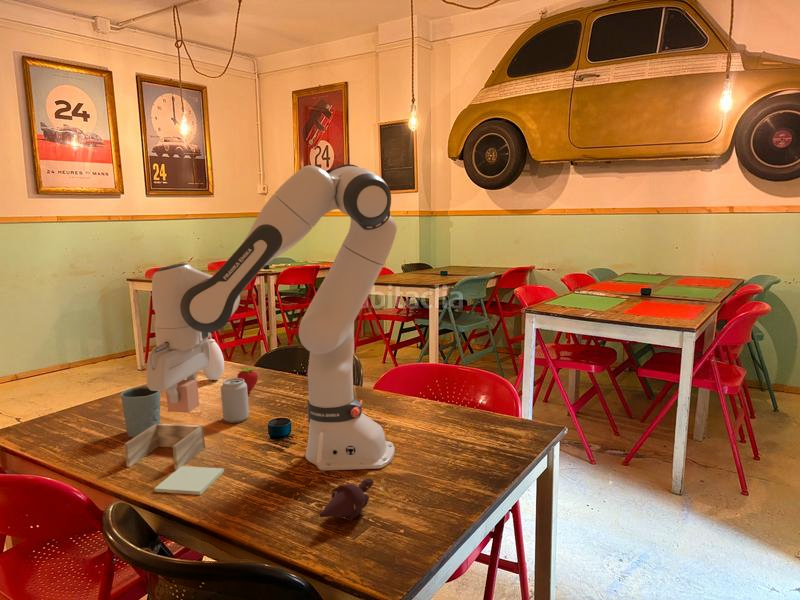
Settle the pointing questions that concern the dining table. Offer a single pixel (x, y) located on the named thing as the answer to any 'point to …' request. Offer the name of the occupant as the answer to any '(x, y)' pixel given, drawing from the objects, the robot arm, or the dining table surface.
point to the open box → (167, 442)
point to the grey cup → (140, 409)
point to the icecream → (347, 500)
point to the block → (185, 397)
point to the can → (234, 400)
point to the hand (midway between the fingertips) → (183, 397)
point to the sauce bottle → (214, 362)
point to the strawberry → (248, 378)
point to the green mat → (189, 480)
